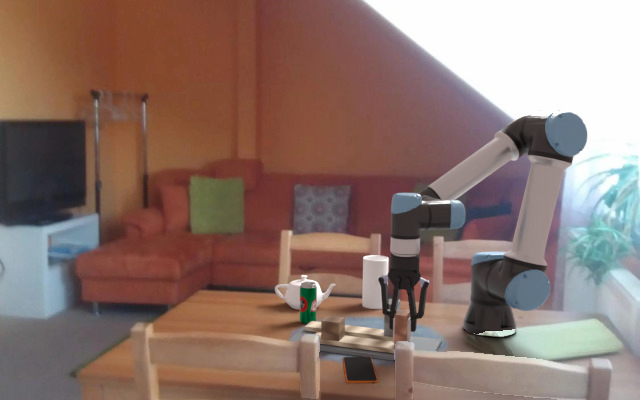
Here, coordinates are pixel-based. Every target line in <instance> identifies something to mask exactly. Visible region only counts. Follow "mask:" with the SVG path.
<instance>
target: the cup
mask: <svg viewBox="0 0 640 400" xmlns="http://www.w3.org/2000/svg"><path fill="white" fill-rule="evenodd" d="M388 272H389V257H388V256H385V255H379V254H378V255H376V254H375V255H371V254H370V255H365V256H363V258H362V295H361V296H362V299H361V301H362V303H361V305H362V307H363V308H365V309H370V310H382V296H381V285H380V283H379V281H378V279H379V277H381V276H382V275H383V276H385V275H387V274H388ZM387 284H388V285H389V282H388V283H387Z"/></svg>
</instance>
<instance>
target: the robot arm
mask: <svg viewBox="0 0 640 400" xmlns="http://www.w3.org/2000/svg"><path fill="white" fill-rule="evenodd" d="M587 142H588V130H587V126H586V124H585V123H584V121H583V119H582V117H580V116H579V115H578V114H577V113H575V112H573V111H565V110H561V109H559V110H533V111H530V112H527V113H524V114H523V115H521V116H518V117H517V118H516V119H514V120H512V121H511V122H509V123H508V124H507V125H505V126H504V127H502V128H501V129H500V130H498V131H497V132H496V133H495V134H494V138H492V140H491V141H489V142H487V143H486V144H484V145H483V146H482V147H481V148H480V149H478V150H476V151H475V152H473V154H471V155H470V156H468V157H466V158H465V159H464V160H462V161H461V162H459V163H458V164H457V165H455V166H454V167H453V168H451V169H450V170H448V171H447V172H446V173H444V174H443V175H442V176H439V178H437V179H436V180H435V181H433V182H432V183H431V184H428V185H427V186H426V187H425V188H423V189H422V190H421V191H419V192H397V193H394V194H393V195H392V198H391V203H390V204H391V205H390V207H391V208H390V247H389V248H390V249H389V250H390V251H389V252H391V253H390V255H389V269H388V274H387V275H385V276H383V275H382V276H381V277H379V279H378V281H379V283H380V285H381V296H382V309H381V310H382V314H383V316H384V315H388V316H389V318H390V321H389V328H390V329H392V330H393V343H394V334H395V314H396V311H397V305H398V300H400V293H401V290H405V291H406V294H407V301H408V310H410V318H409V319H408V325H407V341H408V342H412V336H413V333H415V332H416V330H417V324H418V323H417V321H418V320H419V319H420V320H421V319H422V318H423V317H424V316H425V309H426V301H427V294H428V293H427V292H428V288H429V286H430V285H431V280H430V279H425V278H423V277H422V274H421V271H420V255H419V253H421V232H422V231H428V230H429V231H430V230H431V231H432V230H448V231H449V230H450V231H451V230H454V229H460V228H462V227H463V226H464V224H465V222H466V215H467V214H466V213H467V212H466V208H465V205H464V203H463V202H461V201H460V200H458V198H459V197H462V195H464V194H465V193H467V192H468V191H469V190H471V189H472V188H473V187H475V186H476V185H478V184H479V183H481V182H482V181H484V180H485V179H486V178H487V177H489V176H490V175H492V174H494V172H496V171H497V170H498V169H500V168H501V167H503V166H505V165H506V164H507V163H509V162H510V161H512V162H513V161H515V162H516V161H518V160H519V159H520V158H521V157H523V156H526V155H527V156H526V157H527V159H528V160H529V162H530V169H529V172H528V177H527V181H526V185H525V188H524V194H523V197H522V202H521V206H520V209H519V214H518V218H517V222H516V227H515V231H514V236H513V239H512V242H511V247H510V249H509V250H508V251H480V252H476V253H474V254H473V255H472V257H471V264H470V267H471V269H470V272H471V273H470V276H471V277H470V295H469V296H470V300H469V304H468V307H467V310H466V312H465V315H464V318H463V322H462V328H463V330H464V329H465V330H464V331H465V332H468V333H469V332H470V334H472V333H475V334H479V333H483V332H485V331H503V330H512V329H516V330H517V321H516V318H515V314H514V311H513V309H517V310H519V311H522V312H531V311H535V310H537V309H538V308H539V307H541V306H542V305H543V304H544V303H546V301H547V300H548V298H549V296H550V293H551V287H552V286H551V285H552V284H551V281H550V279H549V277H548V275H547V274H546V272H547V269H548V263H547V262H546V260H545V258H544V256H545V251H546V248H547V247H546V246H547V242H548V237H549V234H550V230H551V225H552V221H553V219H554V214H555V209H556V206H557V201H558V197H559V192H560V189H561V184H562V180H563V175H564V173H565V172H564V171H565V170H566V169H568V168H570V167H571V166H572V164H573V161H574V157H575V156H577V155H578V154H580V152H582V151H583V150H584V149H585V147H586V145H587ZM389 282H391V284H392V286H393V290H392V291H393V292H392V293H393V294H392V298H391V299H392V303H391V308H390V310H389V299H390V298H389V297H390V296H389ZM387 283H388V284H387ZM418 283H419V286H420V293H419V300H418V301H419V302H418V309H417V304H416V297H415V296H416V295H415V286H416V285H417V284H418ZM475 334H474V335H475Z"/></svg>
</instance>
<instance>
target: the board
mask: <svg viewBox="0 0 640 400" xmlns="http://www.w3.org/2000/svg"><path fill="white" fill-rule="evenodd" d="M316 333H317V332H313V331H305V326H304V327H303V328H302V329H300V330H299V331H297V333H295V334H294V335H293V336H292V337H290V338H289V339H288V340H289V341H298V340H299V339H300V337H301V336H302V335H304V334H316ZM412 342H413V343H414V344H415V349H416V350H426V351H437V350H438V351H439V350H440V347H441V345H442V343H443V341H442V339H437V338H429V337H421V336H413V335H412ZM438 351H437V352H438ZM320 352H329V353H335V354H342V355H348V354H349V355H350V356H355V357H371V358H372V359H379V360H388V361H393V360H394V353H387V352H380V351H372V350H365V349H357V348H349V347H342V346H334V345H326V344H320Z"/></svg>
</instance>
